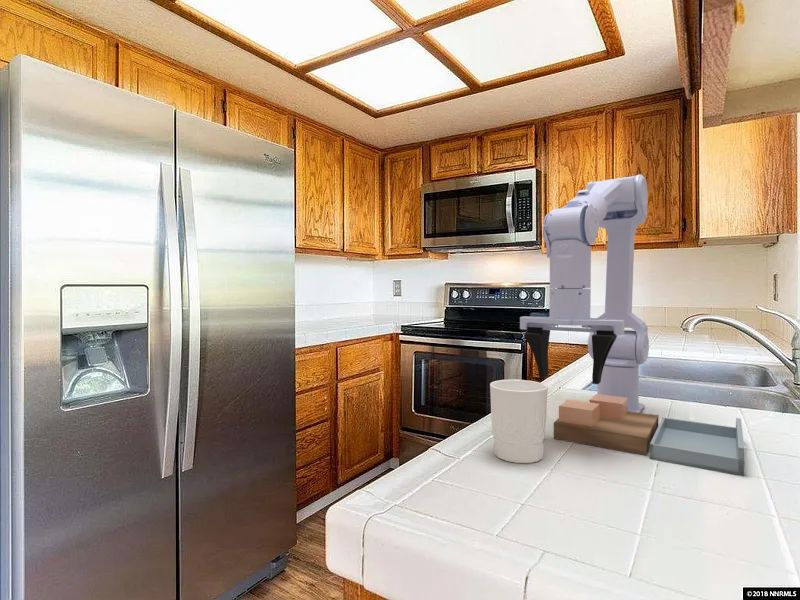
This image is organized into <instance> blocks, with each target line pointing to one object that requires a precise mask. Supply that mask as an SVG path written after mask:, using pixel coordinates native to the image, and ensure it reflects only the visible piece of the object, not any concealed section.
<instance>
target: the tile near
mask: <svg viewBox="0 0 800 600" xmlns="http://www.w3.org/2000/svg"><path fill="white" fill-rule="evenodd" d="M558 419H559V422H564V423H571V424H577V425H583V426H589V427H593V426H594V425H595V424H596V422H597V421H598V420H599V419H600V404H597V403H590V401H582V400H574V399H566V400H565V401H564V402H562V403H561V404H559V405H558Z"/></svg>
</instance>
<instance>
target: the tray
mask: <svg viewBox="0 0 800 600" xmlns="http://www.w3.org/2000/svg"><path fill="white" fill-rule="evenodd" d="M743 432H744V431H743V425H742V418H740V417H735V427H734V426H727V425H721V424H720V425H719V424H714V423H713V424H712V423H706V422H705V423H704V422H701V421H700V422H697V421H694V420H693V421H691V420H684V419H677V418H671V417H661V420H660V421H659V423H658V428H657V430H656V432H655V434H654V436H653V439H652V441H651V443H650V449H649V459H650V460H657V461H662V462H667V463H673V464H678V465H684V466H688V467H692V468H693V467H694V468H699V469H704V470H709V471H714V472H715V471H716V472H720V473H726V474H732V475H735V476H736V475H737V476H741V477H744V476H745V443H744V442H745V441H744V433H743Z"/></svg>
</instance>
